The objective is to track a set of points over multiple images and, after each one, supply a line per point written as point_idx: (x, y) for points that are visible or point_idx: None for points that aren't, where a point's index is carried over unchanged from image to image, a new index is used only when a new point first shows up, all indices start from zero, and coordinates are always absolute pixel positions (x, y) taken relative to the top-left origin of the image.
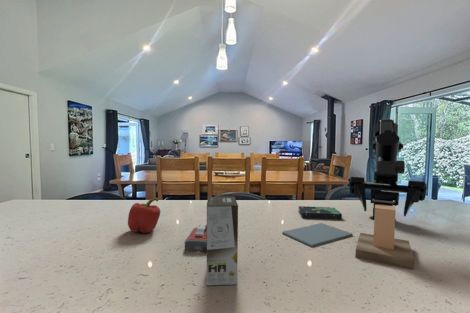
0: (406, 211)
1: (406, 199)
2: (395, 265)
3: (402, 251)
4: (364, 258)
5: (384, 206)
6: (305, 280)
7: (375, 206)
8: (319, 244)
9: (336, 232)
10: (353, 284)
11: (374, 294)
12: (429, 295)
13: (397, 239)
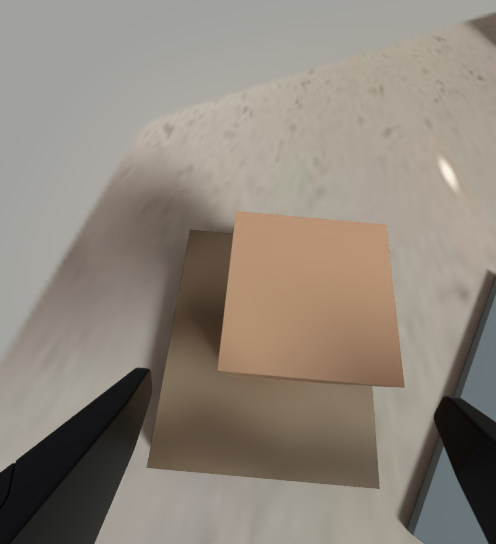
0: (121, 382)
1: (14, 520)
2: None
3: (209, 297)
4: None
5: (314, 316)
6: (420, 105)
7: (388, 276)
8: (484, 310)
9: None
10: (334, 123)
11: (294, 107)
12: (195, 137)
13: (199, 459)
